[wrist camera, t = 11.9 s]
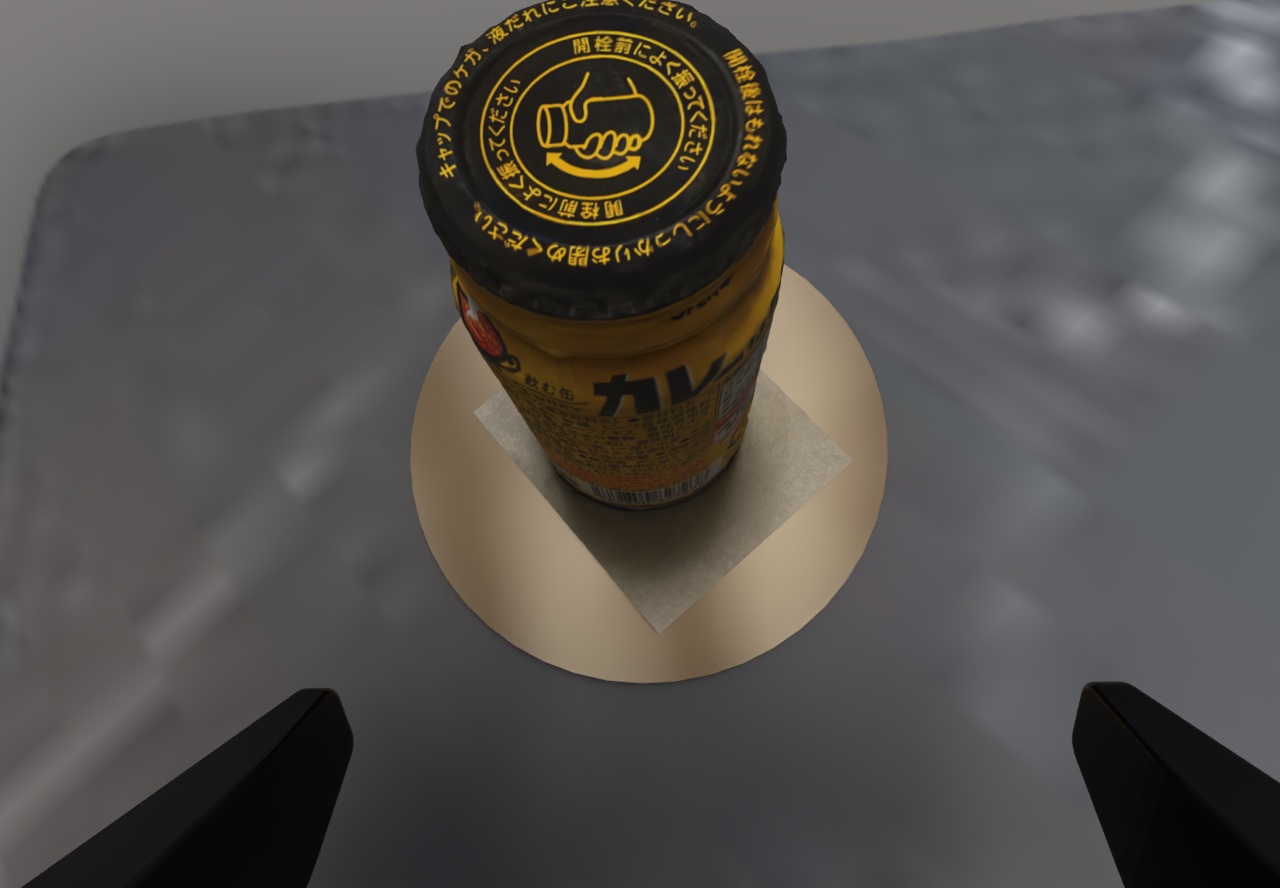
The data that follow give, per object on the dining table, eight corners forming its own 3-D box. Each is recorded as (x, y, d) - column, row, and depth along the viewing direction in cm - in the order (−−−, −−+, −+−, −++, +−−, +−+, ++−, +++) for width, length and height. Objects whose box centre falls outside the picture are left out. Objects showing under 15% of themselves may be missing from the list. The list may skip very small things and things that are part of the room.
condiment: (656, 269, 22) (627, -137, 11) (851, 462, 20) (1067, 207, 9) (474, 415, 21) (232, 134, 10) (659, 634, 19) (622, 601, 8)
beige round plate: (504, 762, 19) (495, 768, 19) (371, 334, 24) (358, 320, 23) (965, 568, 20) (979, 563, 19) (759, 185, 24) (762, 166, 23)
